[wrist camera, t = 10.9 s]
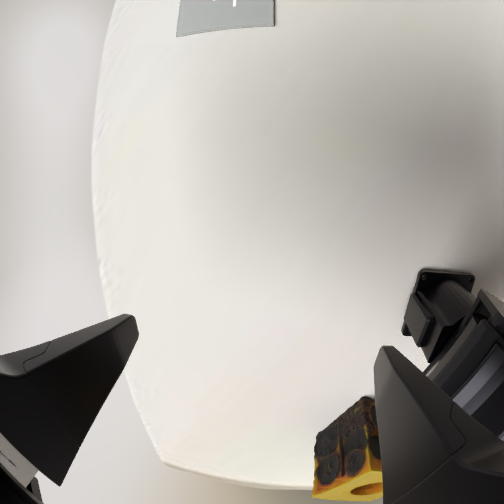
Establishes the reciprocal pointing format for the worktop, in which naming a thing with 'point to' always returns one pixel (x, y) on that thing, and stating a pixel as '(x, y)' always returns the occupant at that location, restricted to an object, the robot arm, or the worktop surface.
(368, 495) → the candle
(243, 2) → the tile
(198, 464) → the worktop surface
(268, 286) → the worktop surface
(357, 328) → the worktop surface
